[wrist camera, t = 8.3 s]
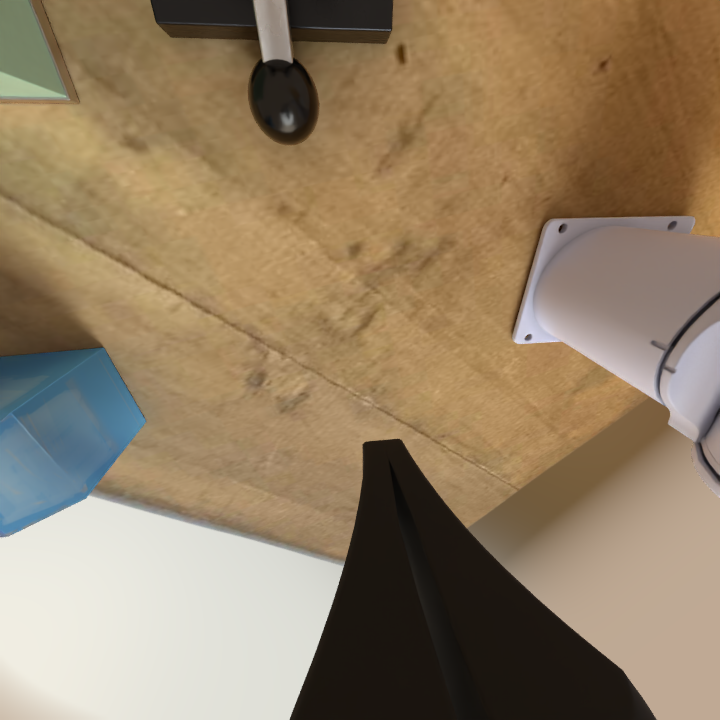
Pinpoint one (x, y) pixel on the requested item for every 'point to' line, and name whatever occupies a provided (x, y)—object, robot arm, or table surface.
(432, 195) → the table surface
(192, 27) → the switch bracket
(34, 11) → the toaster body
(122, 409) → the perfume bottle
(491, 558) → the robot arm
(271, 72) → the switch lever
